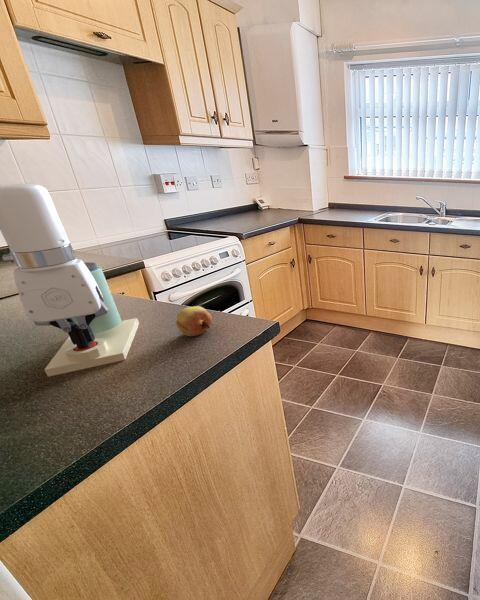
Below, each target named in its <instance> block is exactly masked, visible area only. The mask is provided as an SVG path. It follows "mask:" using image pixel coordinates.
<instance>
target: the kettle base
mask: <svg viewBox="0 0 480 600" xmlns="http://www.w3.org/2000/svg"><path fill="white" fill-rule="evenodd" d="M138 325H139V326H140V322H139V319H138V318H137V317H134V318H129V319H123V320H121V323H120V324H119V325H118V326H116V327H114V328H112V329H110V330H107V331H104V332H101V333H97V334H94V337H95V340H94V342H96V344H97V345H96V346H94V347H93V348H90V349H87V350H83V351H76V350H75V347H76V346H77V345H76V344H75V345H74V344H73V343H72V341H71V338H70V336H69V335H68V337H67V339H65V341H64V343H62V345H61V346H60V348H59V349H58V351H57V352H56V353H55V354H54V356H53V357H52V358H51V360H50V361H49V363H48V364H47V366H45V368H44V372H45V374H46V376H47V378H48V377H53V376H58V375H63V374H66V373H71V372H76V371H81V370H85V369H90V368H94V367H99V366H103V365H108V364H112V363H117V362H121V361H125V360H126V359H127V357H128V354H129V352H130V349H131V347H132V344H133V341H134V338H135V336H136V333H137V331H138V328H139V326H138Z"/></svg>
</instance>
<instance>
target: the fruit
mask: <svg viewBox="0 0 480 600" xmlns="http://www.w3.org/2000/svg"><path fill="white" fill-rule="evenodd" d="M212 323H213V317H212V315H211V313H209V311H208V310H207V309H206V308H205V307H202V306H199V305H195V306H194V305H193V306H189V307H188V306H187V307H184V308H182V309H180V311H178V313H177V316H176V321H175V324H176V327H177V328H178V329H179V331H180V332H181V333H182V334H183V335H185V336H187V337H197V336H200V335H202V334H203V333H205V332H206V331H207V330H208V329H211V326H212Z"/></svg>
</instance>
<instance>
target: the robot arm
mask: <svg viewBox="0 0 480 600" xmlns="http://www.w3.org/2000/svg"><path fill="white" fill-rule="evenodd" d="M0 233H1V234H2V236H3V239H4V240H5V243H6V245H7V247H8V249H9V253H7V254H2V256H1V257H2V260H3V262H5V263H11V264H15V267H16V268H15V269H13V270H12V272H13V279H14V282H15V286H16V290H17V293H18V295H19V299H20V302H21V304H22V307H23V309H24V312H25V314H26V315H27V317H28V319H29V320H30V321H31V322H33V323H34V325H35V326H38V327H49V326H52V327H55V328H58V329H60V330H62V331H63V332H64V333H67V334H68V337H69V336H70V338H71V341H72V343H73V344H74V345H75V344H76V345H77V347H78V349H83V348H89V347H90V346H91V344H92V342H93V341H94V340H95V337H94V334H93V332H92V330H91V327H90V325H89V324H90V323H91V322H92V320H93V319H94V318H96V317H99V316H102V315H105V314H107V312H108V311H109V309H108V308H107V307H106V305H105V304H104V298H103V296H102V293H101V291H100V289H99V287H98V285H97V283H96V281H95V279H94V277H93V276H92V274H91V273H90V271H89V269H88V268H87V266H86V265H85V264H84V263H85V262H84V261H83V260H82V259H81V258H77V255H76V254H75V251H74V249H73V246H72V244H71V242H70V240H69V237H68V234H67V232H66V230H65V227H64V225H63V223H62V220H61V218H60V215H59V213H58V210H57V208H56V205H55V203H54V201H53V198H52V196H51V194H50V192H49V190H48V189H47V188H46V187H45V186H43V185H41V184H36V183H7V184H0ZM74 317H77V321H78V325H77V324H76V323H75V321H74V320H73V319H72V318H74Z"/></svg>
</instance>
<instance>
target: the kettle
mask: <svg viewBox="0 0 480 600" xmlns="http://www.w3.org/2000/svg"><path fill="white" fill-rule="evenodd" d="M84 264H85V265H86V266H87V268H88V269H89V271H90V273H91V274H92V276H93V277H94V279H95V281H96V283H97V285H98V287H99V289H100V291H101V293H102V296H103V298H104V304H105V305H106V307H107V308H108V309H109V311H108V312H107V314H105V315H102V316H99V317H96V318H94V319H93V320H92V322H91V323H90V324H89V325H90V327H91V330H92V332H93V334H97V333H101V332H104V331H107V330H110V329H112V328H114V327H116V326H118V325H119V324H120V323H121V321H122V319H121V315H120V312H119V310H118V308H117V305H116V303H115V300H114V297H113V294H112V291H111V289H110V287H109V284H108V282H107V279H106V276H105V274H104V271H103V269H102V266H101V265H97V264H96V262H91V261H89V262H87V261H86V262H84ZM72 319H73V320H74V321H75V323H76V324H77V325H78V321H77V317H74V318H72Z"/></svg>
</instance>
